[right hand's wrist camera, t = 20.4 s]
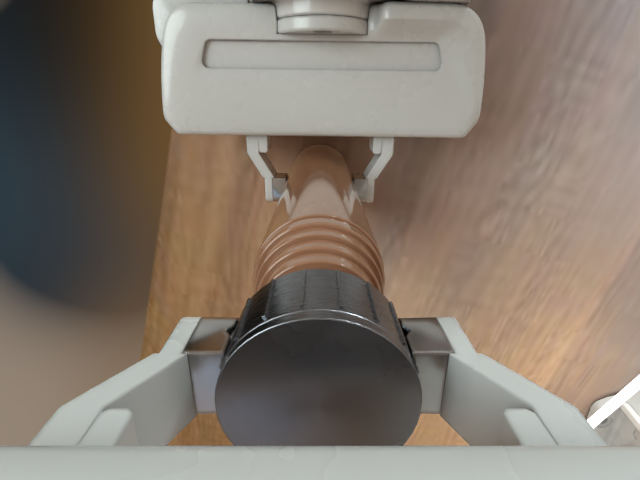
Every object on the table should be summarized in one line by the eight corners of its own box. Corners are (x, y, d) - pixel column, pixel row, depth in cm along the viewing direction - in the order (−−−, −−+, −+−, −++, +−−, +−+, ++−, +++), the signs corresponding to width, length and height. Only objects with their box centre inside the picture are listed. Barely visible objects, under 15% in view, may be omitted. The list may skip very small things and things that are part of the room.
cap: (247, 249, 9) (226, 295, 7) (425, 284, 10) (455, 339, 7) (224, 391, 11) (201, 464, 9) (377, 417, 11) (391, 493, 9)
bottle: (353, 150, 32) (453, 319, 8) (341, 204, 33) (393, 478, 10) (296, 139, 31) (222, 280, 7) (287, 194, 33) (203, 452, 9)
